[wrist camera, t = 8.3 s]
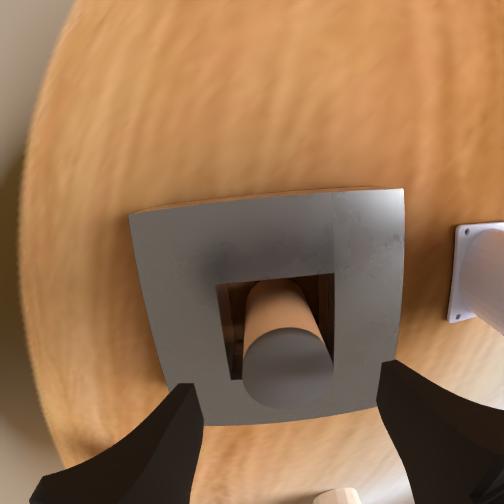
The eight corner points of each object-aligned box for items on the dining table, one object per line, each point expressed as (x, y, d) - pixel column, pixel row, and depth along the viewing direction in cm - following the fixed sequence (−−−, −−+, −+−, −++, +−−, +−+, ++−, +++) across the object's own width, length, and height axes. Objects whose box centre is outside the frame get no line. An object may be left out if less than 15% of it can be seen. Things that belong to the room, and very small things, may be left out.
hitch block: (371, 185, 18) (403, 188, 14) (367, 369, 21) (386, 404, 17) (155, 206, 18) (127, 214, 14) (191, 386, 22) (180, 425, 17)
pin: (310, 281, 20) (344, 342, 12) (298, 334, 21) (319, 410, 13) (250, 272, 19) (249, 333, 12) (241, 327, 20) (236, 404, 13)
